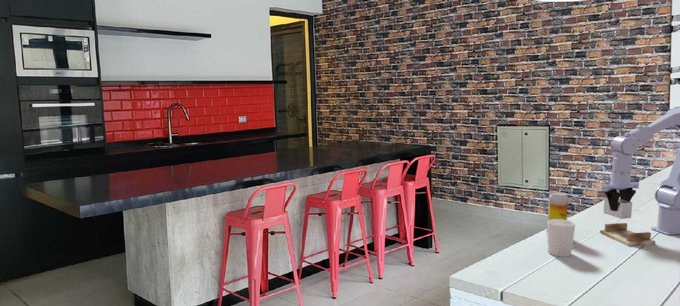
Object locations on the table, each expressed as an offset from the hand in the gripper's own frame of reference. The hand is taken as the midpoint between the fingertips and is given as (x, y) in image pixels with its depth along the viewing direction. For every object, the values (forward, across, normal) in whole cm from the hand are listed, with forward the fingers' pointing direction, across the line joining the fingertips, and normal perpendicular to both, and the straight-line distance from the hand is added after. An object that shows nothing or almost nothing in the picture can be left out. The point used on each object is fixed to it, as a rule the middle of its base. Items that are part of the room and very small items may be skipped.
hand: (618, 209), depth 183 cm
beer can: (+9, +21, -6) cm, 23 cm away
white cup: (+9, +32, +9) cm, 34 cm away
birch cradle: (+9, 0, +4) cm, 10 cm away
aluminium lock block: (+2, 0, 0) cm, 2 cm away
